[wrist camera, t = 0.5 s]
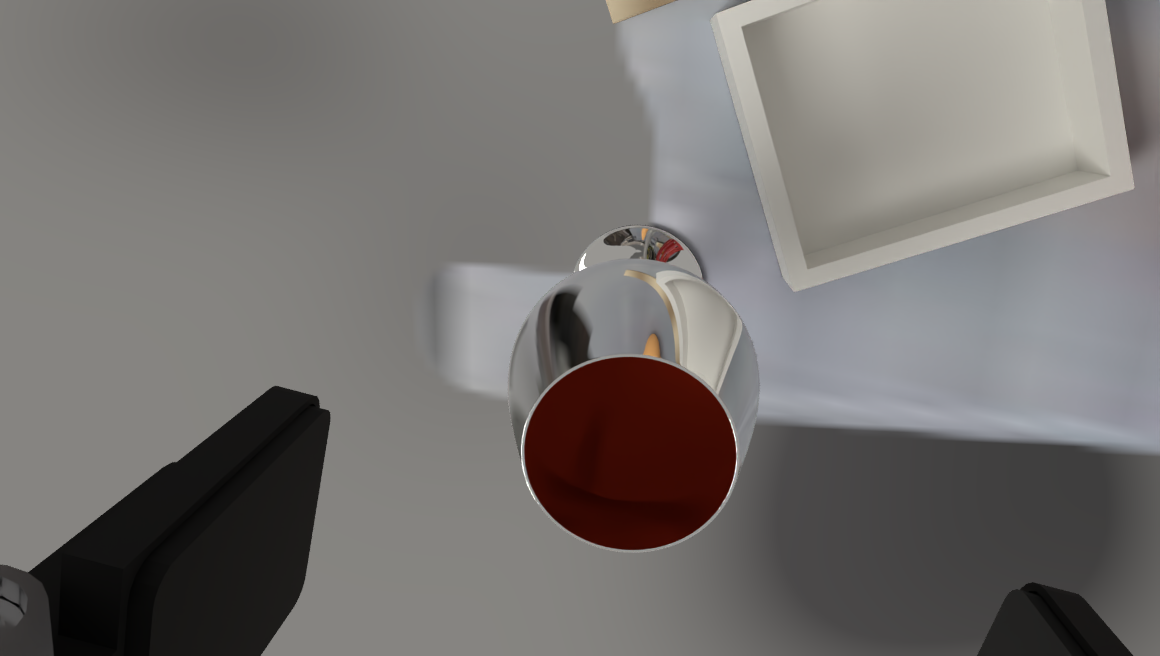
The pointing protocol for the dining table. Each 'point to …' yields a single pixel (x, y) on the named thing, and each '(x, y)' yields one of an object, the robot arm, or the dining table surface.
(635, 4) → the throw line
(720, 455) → the wineglass
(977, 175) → the tray
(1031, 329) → the dining table surface
